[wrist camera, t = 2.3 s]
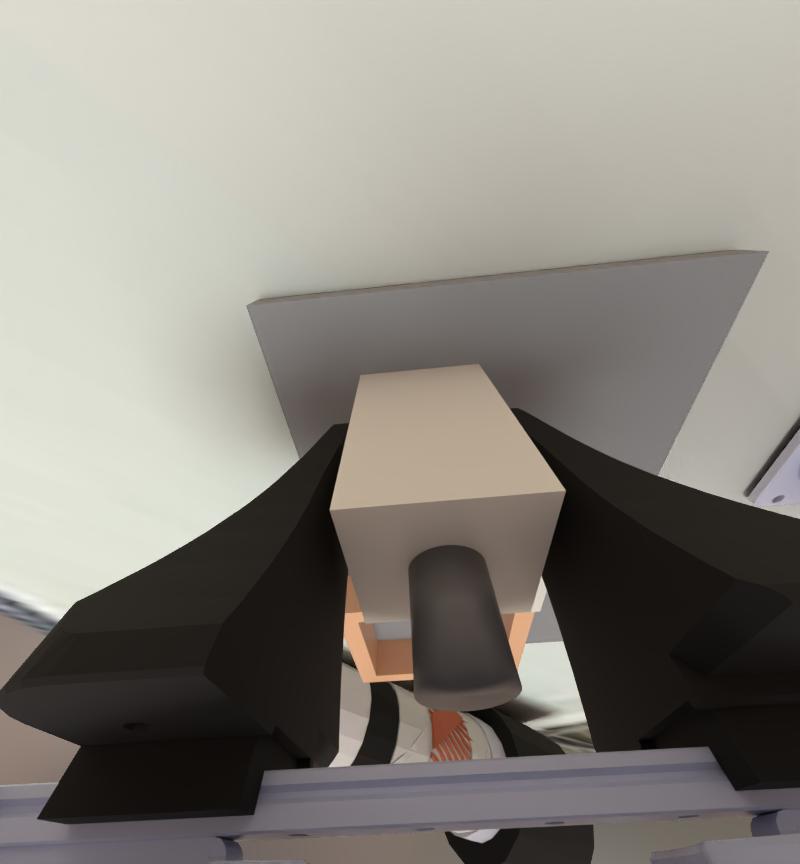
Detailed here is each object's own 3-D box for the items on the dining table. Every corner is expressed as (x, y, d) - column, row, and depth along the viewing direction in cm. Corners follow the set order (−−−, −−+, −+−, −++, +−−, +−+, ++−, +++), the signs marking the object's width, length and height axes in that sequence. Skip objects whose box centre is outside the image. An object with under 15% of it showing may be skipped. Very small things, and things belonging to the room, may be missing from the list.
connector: (478, 363, 10) (653, 617, 3) (473, 457, 12) (573, 726, 6) (360, 375, 10) (298, 643, 3) (376, 466, 12) (358, 738, 6)
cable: (295, 572, 26) (281, 683, 16) (536, 709, 35) (618, 829, 26) (216, 669, 25) (152, 848, 15) (484, 781, 35) (548, 932, 25)
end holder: (523, 562, 16) (538, 599, 15) (506, 638, 21) (516, 673, 19) (340, 575, 17) (334, 614, 15) (365, 648, 21) (363, 682, 20)
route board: (734, 250, 9) (768, 251, 8) (568, 625, 22) (575, 640, 22) (258, 299, 10) (246, 305, 9) (368, 638, 23) (367, 653, 22)
